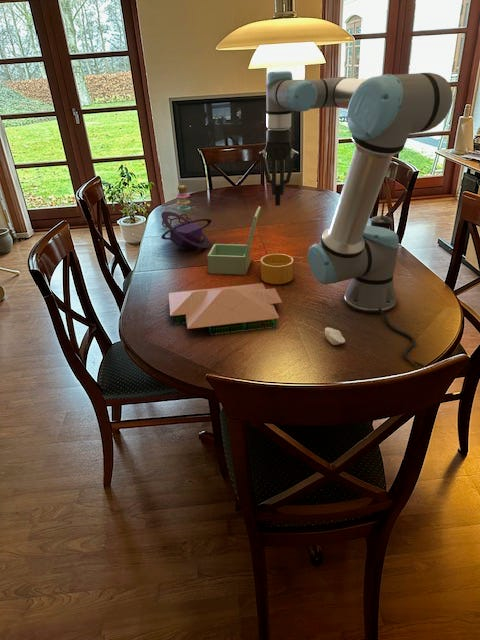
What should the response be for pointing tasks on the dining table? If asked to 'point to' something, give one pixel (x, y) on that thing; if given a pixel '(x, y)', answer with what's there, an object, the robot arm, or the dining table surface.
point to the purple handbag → (185, 226)
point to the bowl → (277, 268)
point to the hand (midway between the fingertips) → (277, 204)
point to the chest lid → (252, 230)
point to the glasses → (179, 220)
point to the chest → (228, 259)
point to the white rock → (334, 336)
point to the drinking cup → (381, 220)
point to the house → (225, 306)
